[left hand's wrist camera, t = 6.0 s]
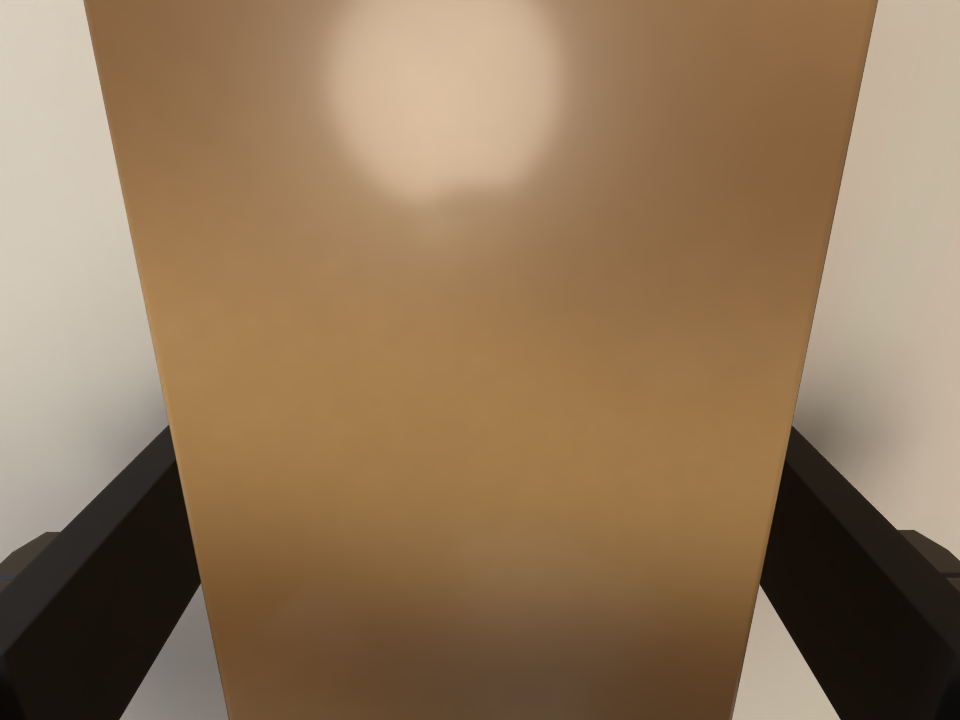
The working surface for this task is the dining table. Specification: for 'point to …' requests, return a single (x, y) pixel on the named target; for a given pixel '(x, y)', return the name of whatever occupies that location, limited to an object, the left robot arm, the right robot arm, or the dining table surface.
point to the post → (480, 333)
